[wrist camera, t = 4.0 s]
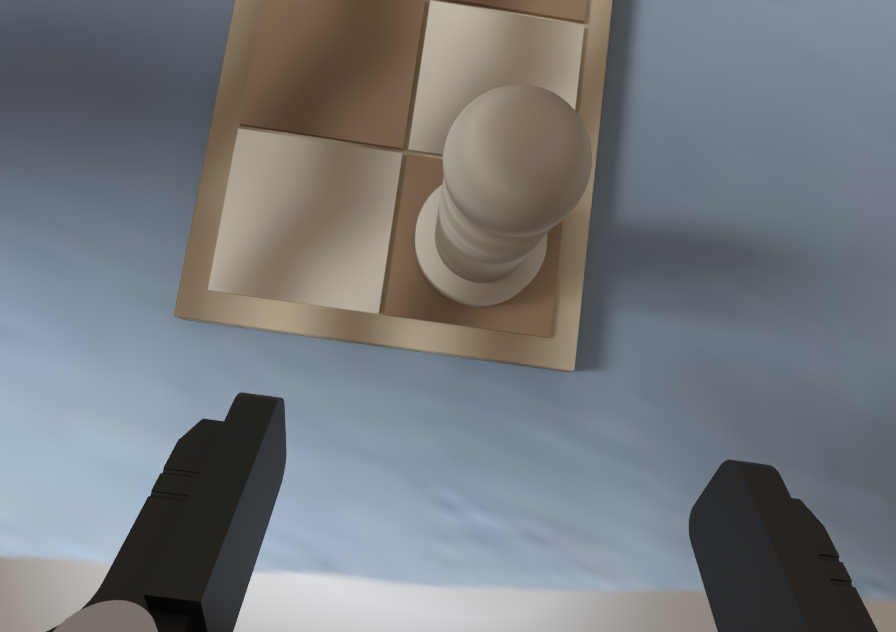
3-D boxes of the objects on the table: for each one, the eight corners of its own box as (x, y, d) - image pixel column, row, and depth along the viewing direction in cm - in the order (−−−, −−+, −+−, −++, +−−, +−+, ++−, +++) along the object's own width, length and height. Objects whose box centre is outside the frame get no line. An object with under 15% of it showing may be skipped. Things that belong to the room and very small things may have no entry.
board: (186, 319, 23) (171, 315, 22) (303, -295, 27) (297, -332, 25) (565, 371, 24) (575, 370, 22) (629, -234, 27) (641, -267, 26)
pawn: (406, 297, 22) (404, 222, 12) (424, 175, 23) (435, 10, 13) (532, 315, 22) (630, 255, 13) (546, 194, 23) (649, 45, 13)
